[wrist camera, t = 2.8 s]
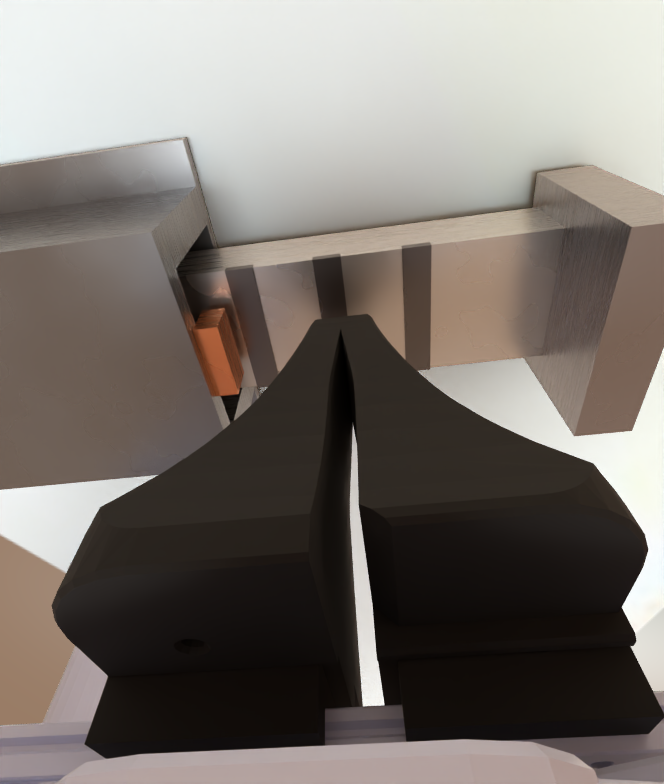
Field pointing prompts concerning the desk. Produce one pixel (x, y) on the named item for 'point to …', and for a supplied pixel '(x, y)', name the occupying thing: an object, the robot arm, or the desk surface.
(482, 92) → the desk surface
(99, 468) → the collar
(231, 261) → the bar
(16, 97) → the desk surface
